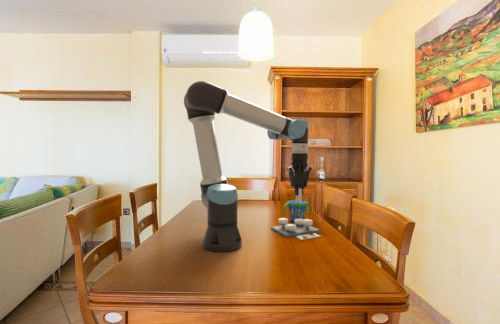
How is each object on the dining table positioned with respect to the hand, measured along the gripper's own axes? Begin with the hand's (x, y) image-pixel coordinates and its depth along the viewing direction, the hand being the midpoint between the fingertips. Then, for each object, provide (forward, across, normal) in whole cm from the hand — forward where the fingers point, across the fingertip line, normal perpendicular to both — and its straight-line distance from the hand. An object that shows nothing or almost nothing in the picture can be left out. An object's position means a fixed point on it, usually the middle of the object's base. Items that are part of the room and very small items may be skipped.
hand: (298, 202), depth 134 cm
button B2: (+12, +1, 0) cm, 12 cm away
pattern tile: (+13, -4, -13) cm, 19 cm away
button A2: (+11, -8, 0) cm, 14 cm away
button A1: (+12, -8, -7) cm, 16 cm away
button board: (+13, -4, -3) cm, 14 cm away
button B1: (+11, +1, -6) cm, 13 cm away
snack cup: (+13, +7, +11) cm, 18 cm away
